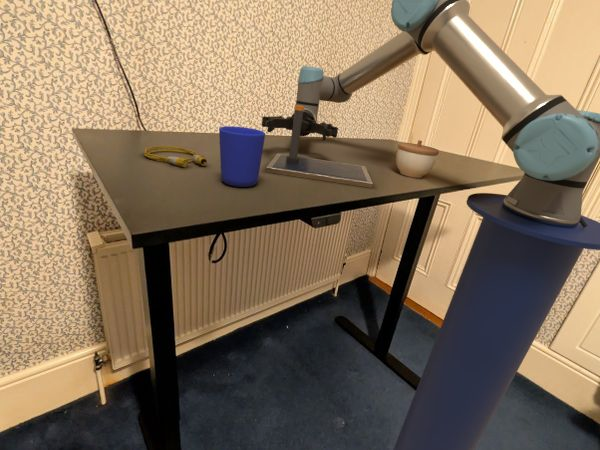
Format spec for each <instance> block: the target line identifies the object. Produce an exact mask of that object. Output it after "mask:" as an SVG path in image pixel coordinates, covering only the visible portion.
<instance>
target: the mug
mask: <svg viewBox="0 0 600 450" xmlns="http://www.w3.org/2000/svg"><path fill="white" fill-rule="evenodd" d="M218 133H219V135H218V136H219V137H218V138H219V154H220V156H219V157H220V175H221V179H222V182H224V183H225V184H226V185H228V186H231V187H235V188H237V187H238V188H249V187H253V186H255V185H256V184H257V182H258V180H259V177H260V170H261V163H262V162H261V161H262V157H263V152H264V151H263V150H264V145H265V139H266V132H265V131H263V130H260V129H256V128H251V127H244V126H232V125H231V126H220V127H219V129H218Z"/></svg>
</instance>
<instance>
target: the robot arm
mask: <svg viewBox="0 0 600 450" xmlns="http://www.w3.org/2000/svg"><path fill="white" fill-rule="evenodd" d="M470 10H471V5H470V2H469V1H468V0H392V1H391V8H390V17H391V20H392V22H393V24H394V26H395V27H397V29H398V30H400V31H401V32H400V33H398V34H396V35H395V36H393V37H392V38H390V39H389V40H388V41H386V42H385V43H383V44H382V45H380V46H378V47H377V48H376V49H374V50H373V51H371V52H370V53H369V54H367V55H365V56H364V57H362V58H361V59H360V60H358V61H357V62H355V63H354V64H352V65H351V66H349V67H347V68H346V69H345V70H343V71H341V72H340V73H339V74H337V75H335V76H334V77H331V76H326V75H324V68H321V67H315V66H309V65H303V66H301V67H300V71H299V74H298V79H297V92H296V101H295V105H299V106H304V110H303V116H302V124H301V132H300V137H306V136H309V135H310V134H318V135H320V136H322V141H326V140H327V138H329V137H332V138H337V137H338V133H339V127H337V126H334V125H333V124H332V123H327V122H324V121H323V122H320V123H318V113H319V107H320V102H321V101H322V102H330V103H335V104H340V103H346V102H348V101H349V100H350V99H351V97H352V96H353V93H355V92H357V91H359V90H360V89H362V88H364V87H365V86H367V85H369V84H371V83H373V82H374V81H376V80H377V79H379V78H381V77H383V76H384V75H386V74H388V73H390V72H391V71H393V70H395V69H396V68H398V67H400V66H402V65H403V64H405V63H407V62H408V61H410V60H412V59H414V58H415V57H418V56H419V55H423V56H426V55H429V54H431V53H432V52H435V54H436V55H438V56H439V58H440V59H441V60H442V61H443V62H444V63H445V64H446V66H448V68H449V69H450V70H451V71H452V73H454V74H455V75H456V77H457V78H458V79H459V80H460V81H461V82H462V83H463V84H464V86H465V87H466V88H467V89H468V90H469V91H470V92H471V93H472V94H473V96H474V97H475V99H477V100H478V102H479V103H481V105H482V106H483V107H484V108H485V109H486V110H487V111H488V113H490V115H491V116H492V117H493V118H494V119H495V120H496V121H497V122H498V124H499V125H500V126H501V127H502V134H501V141H503V143H505V145H506V146H507V147H508V148H509V149H510V150H511V152H512V154H513V158H514V161H515V163H516V165H517V166H518V168H519V169H520V170H521V171H522V172H523V176H522V178H521V179H520V180H519V181H518V182H517V184H516V185H514V187H513V188H512V189H511V190H510V192H509V193H508V194H506V195H507V196H506V198H505V199H504V202H503V204H502V207H503V208H504V209H506V210H507V211H509V212H511V213H513V214H515V215H517V216H520V217H522V218H525V219H528V220H531V221H534V222H538V223H542V224H546V225H550V226H556V227H562V228H574V227H577V225H578V223H579V222H580V223H581V225H582V226H583V227H587V226H588V225H587V224H586V223H585V221H584V220H583V218H582V217H581V215H582V207H583V196H584V195H583V193H584V190H585V188H586V186H587V184H588V182H589V181H590V178H591V177H592V174H593V172H594V171H595V168H596V167H597V164H598V163H599V161H600V113H599V112H593V111H587V110H580V109H576V108H575V107H574V106H573V105H572V103H570V102H569V100H567V99H566V98H565V97H564V96H563V95H562V94H547V93H545V92H544V91H543V90H542V89H541V87H540V86H538V84H537V83H535V81H534V80H532V79H531V77H530V76H528V74H527V73H525V71H524V70H522V68H521V67H520V66H519V65H518V64H517V63H516V62H515V61H514V60H513V59H512V58H511V57H510V56H509V55H508V54H507V53H506V52H505V51H504V50H503V49H502V48H501V46H499V45H498V44H497V42H495V41H494V40H493V39H492V38H491V37H490V36H489V35H488V33H487V32H485V31H484V30H483V29H482V28H481V27H480V26H479V24H477V23H476V21H474V19H472V18H471V16H470ZM293 119H294V112H293V113H292V115H291V116H286V117H284V116H283V115H277V116H265V115H263V116H262V117H261V127H263V128H267V133H272V132H273V131H274V130H275V129H286V130H288V131H292V128H293Z"/></svg>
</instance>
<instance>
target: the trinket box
mask: <svg viewBox="0 0 600 450" xmlns="http://www.w3.org/2000/svg"><path fill="white" fill-rule="evenodd" d="M422 143H423V140H420V139H419V140H417V143H413V142H412V143H410V142H409V143H408V142H399V143H398V144H397V150H396V153H395V164H396V167H397V169H398V170H399V173H400V174H401V175H403V176H406V177H410V178H414V179H415V178H417V179H421V178H423V177H424V176H426V175H427V174H428V173H430V172H431V171H432V169H433V168H434V166H435V163H436V161H437V158H438V155H439V153H440V150H439V149H437V148H435V147H431V146H428V145H424V144H422Z"/></svg>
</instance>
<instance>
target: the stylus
mask: <svg viewBox="0 0 600 450" xmlns="http://www.w3.org/2000/svg"><path fill="white" fill-rule="evenodd" d="M303 110H304V106H299V105H296V104H295V105H294V110H293V111H294V112H293V113H294V119H293V128H292V130H291V138H290V146H289V147H290V148H289V154H288V155H289V156H287V158H286V162H288V163H292V164H298V163H299V159H300V158H299V157H300V156H299V148H300V139H301V136H300V132H301V124H302V116H303ZM297 156H299V157H297Z"/></svg>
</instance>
